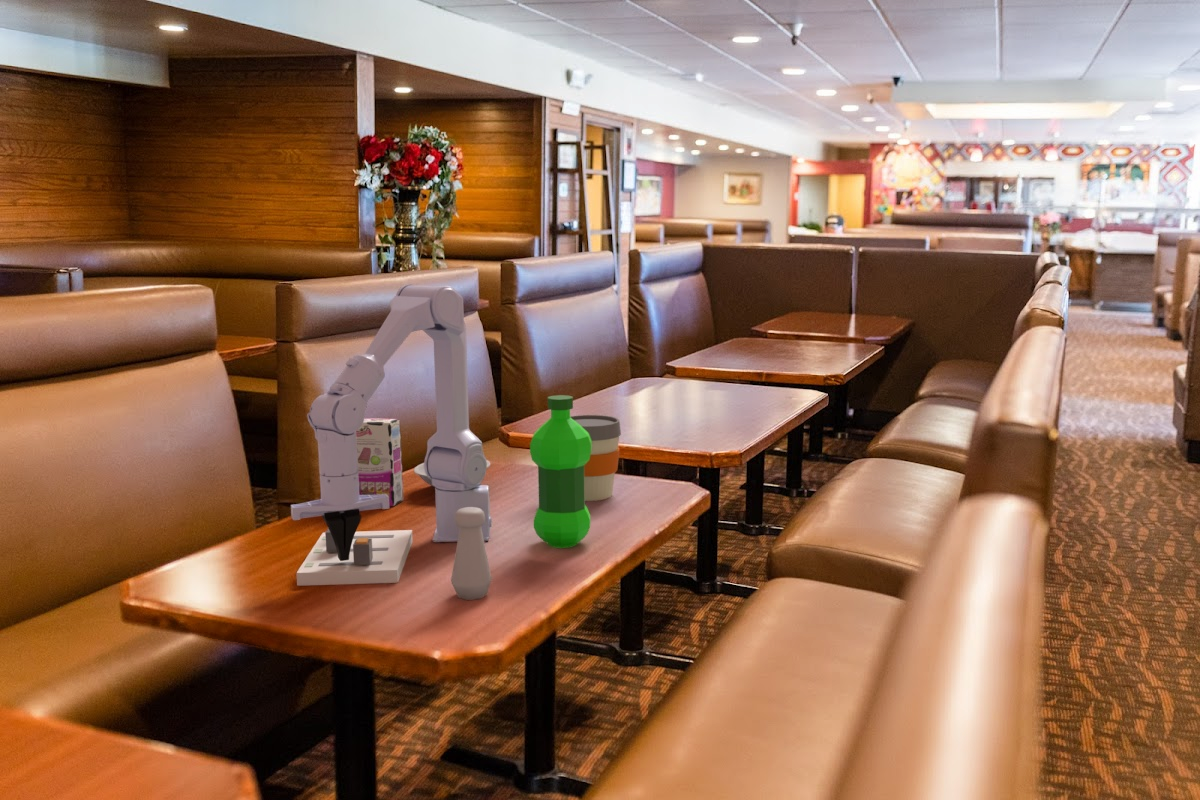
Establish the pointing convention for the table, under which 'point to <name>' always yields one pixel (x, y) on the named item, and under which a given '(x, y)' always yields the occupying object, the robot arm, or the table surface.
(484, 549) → the salt shaker
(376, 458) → the candy bar box
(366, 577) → the breaker panel
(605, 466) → the reusable coffee cup
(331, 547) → the middle breaker
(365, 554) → the block
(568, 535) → the plastic bottle
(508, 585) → the table surface
